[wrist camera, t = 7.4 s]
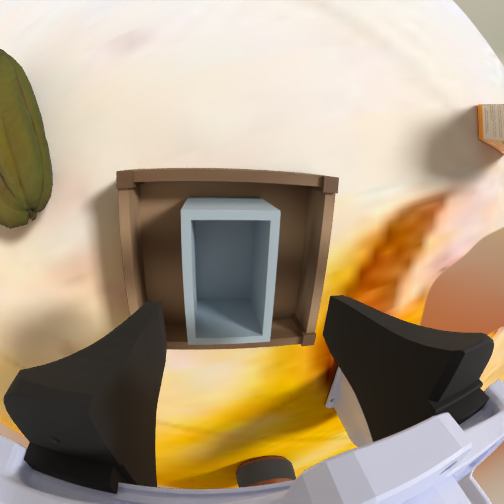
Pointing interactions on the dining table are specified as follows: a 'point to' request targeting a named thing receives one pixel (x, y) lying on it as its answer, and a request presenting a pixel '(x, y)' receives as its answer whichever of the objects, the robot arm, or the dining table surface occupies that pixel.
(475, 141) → the dining table surface
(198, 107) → the dining table surface
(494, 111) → the supplement box
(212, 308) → the grey crate
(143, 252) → the walnut crate
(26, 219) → the fruit
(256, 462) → the mug
